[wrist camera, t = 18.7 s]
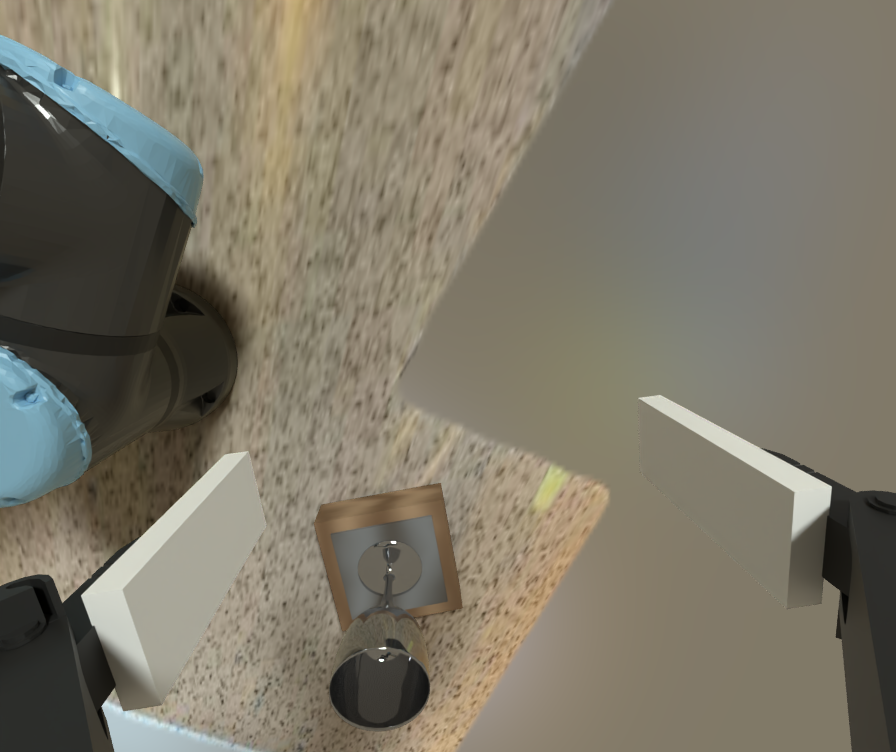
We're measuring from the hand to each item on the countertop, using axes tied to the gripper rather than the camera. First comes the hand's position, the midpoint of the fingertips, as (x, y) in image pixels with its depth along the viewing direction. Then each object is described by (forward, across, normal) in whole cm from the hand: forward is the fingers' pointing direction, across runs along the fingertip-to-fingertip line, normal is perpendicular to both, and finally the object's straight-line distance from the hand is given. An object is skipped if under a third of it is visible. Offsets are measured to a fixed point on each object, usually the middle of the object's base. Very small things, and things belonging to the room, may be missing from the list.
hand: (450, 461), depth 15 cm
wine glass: (+30, -8, -25) cm, 40 cm away
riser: (+35, -8, -26) cm, 44 cm away
